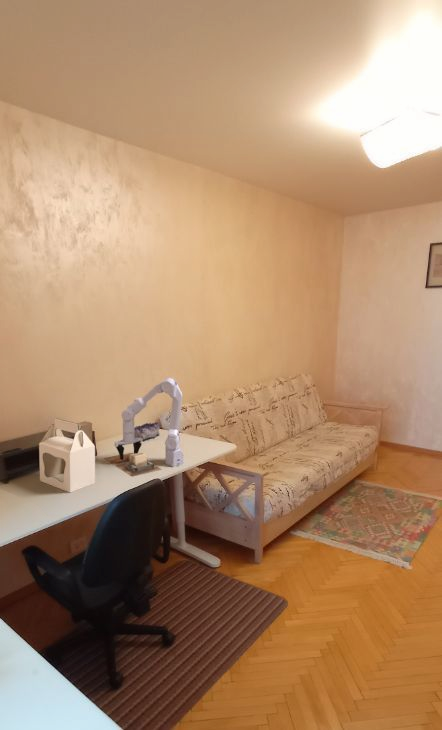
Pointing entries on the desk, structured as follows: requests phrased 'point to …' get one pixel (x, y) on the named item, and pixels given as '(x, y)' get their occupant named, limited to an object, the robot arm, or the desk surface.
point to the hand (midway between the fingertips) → (128, 457)
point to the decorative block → (85, 429)
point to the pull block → (134, 459)
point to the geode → (146, 431)
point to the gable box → (67, 457)
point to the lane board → (132, 466)
